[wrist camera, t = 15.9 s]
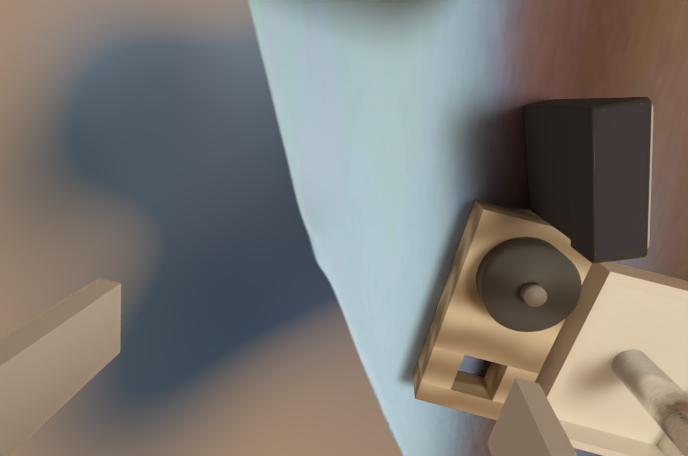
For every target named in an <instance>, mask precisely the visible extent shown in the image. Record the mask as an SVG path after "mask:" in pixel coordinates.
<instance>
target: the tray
mask: <svg viewBox="0 0 688 456" xmlns="http://www.w3.org/2000/svg"><path fill="white" fill-rule="evenodd" d="M630 349H636V350H640V351H642V352H644V353H645V354H646V355H647V356H648V357H649V358H650V359H651V360H652V361H654V362H655V363H656V364H657V365H658V366H659V367H660V368H661V369H662V370H663V371H664V372H665V373H666V374H667V375H668V376H669V377H670V378H671V379H672V380H673V381H674V382H675V383H676V384H677V385H678V386H679V387H680V388H681V389H682V390H683V391H684V392H685V393H687V394H688V281H686V280H682V279H678V278H674V277H670V276H666V275H662V274H658V273H654V272H650V271H646V270H642V269H638V268H634V267H630V266H626V265H622V264H618V263H614V262H602V263H592V265H591V267H590V269H589V271H588V273H587V275H586V277H585V279H584V282H583V284H582V287H581V294H580V298H579V301H578V303H577V305H576V307H575V308H574V310H573V311H572V312H571V313H570V314H569V316H568V317H567V318H566V319H565V321H564V323H563V325H562V327H561V329H560V331H559V333H558V335H557V337H556V339H555V341H554V344H553V346H552V348H551V350H550V352H549V354H548V356H547V358H546V360H545V362H544V364H543V366H542V368H541V370H540V373H539V375H538V377H537V379H536V381H535V383H538V384H540V386H541V388H542V390H543V392H544V394H545V395H546V397H547V399H548V401H549V403H550V405H551V407H552V409H553V410H554V412H555V414H556V416H557V418H558V420H559V422H560V423H561V425H562V427H563V429H564V431H565V433H566V435H567V437H568V438H569V440H570V442H571V444H572V446H573V448H577V449H581V450H584V451H588V452H592V453H596V454H600V455H603V456H684V455H683V454H682V453H681V452H680V450H679V449H678V448H677V447H676V446H675V444H674V443H673V442H672V441H671V440H670V439H669V437H668V436H667V435H666V434H665V433H664V431H663V430H662V429H661V428H660V427H659V425H658V424H657V423H656V422H655V421H654V420H653V418H652V417H651V416H650V415H649V414H648V412H647V411H646V410H645V409H644V408H643V406H642V405H641V404H640V403H639V402H638V400H637V399H636V398H635V397H634V396H633V395H632V393H631V392H630V391H629V390H628V389H627V387H626V386H625V385H624V384H623V383H622V381H621V380H620V379H619V378H618V377H617V376H616V374H615V373H614V372H613V370H612V361H613V359H614V358H615V357H616V356H617V355H618V354H619V353H621V352H623V351H625V350H630Z"/></svg>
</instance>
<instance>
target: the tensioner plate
mask: <svg viewBox="0 0 688 456" xmlns="http://www.w3.org/2000/svg"><path fill="white" fill-rule="evenodd" d="M591 265H592V263H591V262H590V261H589V260H587V259H586V258H585V257H583V256H582V255H581V254H580V253H578V252H577V251H576V250H574V249H573V248H572V247H571V240H570V239H569V238H568V237H566V236H565V235H564V234H562V233H561V232H560V231H558V230H557V229H556V228H554V227H553V226H552V225H550V224H549V223H547V222H546V221H545V220H543V219H542V218H541V217H539V216H538V215H534V214H530V213H526V212H522V211H518V210H514V209H510V208H506V207H501V206H497V205H493V204H489V203H485V202H481V201H477V200H475V201H474V204H473V207H472V210H471V213H470V216H469V218H468V221H467V224H466V227H465V230H464V233H463V235H462V238H461V241H460V244H459V247H458V250H457V252H456V255H455V258H454V261H453V264H452V267H451V269H450V272H449V275H448V278H447V281H446V284H445V286H444V289H443V292H442V295H441V298H440V301H439V303H438V306H437V309H436V312H435V315H434V318H433V320H432V323H431V326H430V329H429V332H428V335H427V337H426V340H425V343H424V346H423V349H422V352H421V354H420V357H419V360H418V363H417V366H416V369H415V371H414V374H413V382H414V393H415V399H419V400H422V401H426V402H430V403H434V404H438V405H441V406H445V407H449V408H453V409H456V410H460V411H464V412H468V413H472V414H475V415H479V416H483V417H487V418H491V419H494V420H497V419H498V417H499V414H500V412H501V410H502V407H503V405H504V403H505V400H506V398H507V396H508V394H509V391H510V389H511V387H512V384H513V382H514V380H515V378H517V379H522V380H526V381H530V382H534V383H535V381H536V379H537V377H538V375H539V373H540V370H541V368H542V366H543V364H544V362H545V360H546V358H547V356H548V354H549V352H550V350H551V348H552V346H553V344H554V341H555V339H556V337H557V335H558V333H559V331H560V329H561V327H562V325H563V323H564V321H565V319H566V318H567V317H568V316H569V314H570V313H571V312H572V311H573V310H574V308H575V307H576V305H577V303H578V301H579V298H580V294H581V287H582V284H583V282H584V279H585V277H586V275H587V273H588V271H589V269H590V267H591ZM464 355H468V356H472V357H475V358H479V359H483V360H487V361H491V363H490V365H489V368H488V370H487V372H486V375H485V377H480V376H477V375H473V374H469V373H465V372H461V371H458V369H459V367H460V364H461V362H462V359H463V357H464Z"/></svg>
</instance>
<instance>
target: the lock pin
mask: <svg viewBox="0 0 688 456" xmlns="http://www.w3.org/2000/svg"><path fill="white" fill-rule="evenodd" d="M612 370H613V372H614V373H615V374H616V376H617V377H618V378H619V379H620V380H621V381H622V383H623V384H624V385H625V386H626V387H627V389H628V390H629V391H630V392H631V393H632V395H633V396H634V397H635V398H636V399H637V400H638V402H639V403H640V404H641V405H642V406H643V408H644V409H645V410H646V411H647V412H648V414H649V415H650V416H651V417H652V418H653V420H654V421H655V422H656V423H657V424H658V425H659V427H660V428H661V429H662V430H663V431H664V433H665V434H666V435H667V436H668V437H669V439H670V440H671V441H672V442H673V443H674V444H675V446H676V447H677V448H678V449H679V450H680V452H681V453H682V454H683V455H684V456H688V394H687V393H685V392H684V391H683V390H682V389H681V388H680V387H679V386H678V385H677V384H676V383H675V382H674V381H673V380H672V379H671V378H670V377H669V376H668V375H667V374H666V373H665V372H664V371H663V370H662V369H661V368H660V367H659V366H658V365H657V364H656V363H655V362H654V361H652V360H651V359H650V358H649V357H648V356H647V355H646V354H645V353H644V352H642V351H640V350H636V349H630V350H625V351H623V352H621V353H619V354H618V355H617V356H616V357H615V358H614V359H613V361H612Z"/></svg>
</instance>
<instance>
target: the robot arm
mask: <svg viewBox="0 0 688 456" xmlns="http://www.w3.org/2000/svg"><path fill="white" fill-rule="evenodd" d="M120 319H121V283H118V282H114V281H109V280H105V279H101V278H98V279H96V280H95V281H93V282H92V283H90V284H88V285H87V286H85V287H83V288H82V289H80V290H79V291H77V292H75V293H74V294H72V295H70V296H69V297H67V298H66V299H64V300H62V301H61V302H59V303H57V304H56V305H54V306H53V307H51V308H49V309H48V310H46V311H45V312H43V313H41V314H40V315H38V316H36V317H35V318H33V319H32V320H30V321H28V322H27V323H25V324H23V325H22V326H20V327H19V328H17V329H15V330H14V331H12V332H11V333H9V334H7V335H6V336H4V337H2V338H1V339H0V456H10V455H11V454H12V453H13V452H14V451H15V450H16V449H17V448H18V447H19V446H21V445H22V444H23V443H24V442H25V441H26V440H27V439H28V438H29V437H30V436H31V435H32V434H33V433H34V432H35V431H37V430H38V429H39V428H40V427H41V426H42V425H43V424H44V423H45V422H46V421H47V420H48V419H49V418H50V417H51V416H52V415H53V414H55V413H56V412H57V411H58V410H59V409H60V408H61V407H62V406H63V405H64V404H65V403H66V402H67V401H68V400H69V399H70V398H72V397H73V396H74V395H75V394H76V393H77V392H78V391H79V390H80V389H81V388H82V387H83V386H84V385H85V384H86V383H87V382H89V381H90V379H92V378H93V377H94V376H95V375H96V374H97V373H98V372H99V371H100V370H101V369H102V368H103V367H104V366H105V365H107V364H108V363H109V362H110V361H111V360H112V359H113V358H114V357H115V356H116V355H117V354H118V353H119V352H120V328H121V327H120V326H121V324H120V323H121V320H120ZM487 443H488V446H489V450H490V453H491V456H578V455H577V453H576V452H575V450H574V448H573V446H572V444H571V442H570V440H569V438H568V437H567V435H566V433H565V431H564V429H563V427H562V425H561V423H560V422H559V420H558V418H557V416H556V414H555V412H554V410H553V409H552V407H551V405H550V403H549V401H548V399H547V397H546V395H545V394H544V392H543V390H542V388H541V386H540V384H538V383H534V382H530V381H526V380H522V379H517V378H515V380H514V382H513V384H512V387H511V389H510V391H509V394H508V396H507V398H506V400H505V403H504V405H503V407H502V410H501V412H500V414H499V417H498V419H497V421H496V423H495V426H494V428H493V430H492V433H491V435H490V437H489V440H488V442H487Z"/></svg>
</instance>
